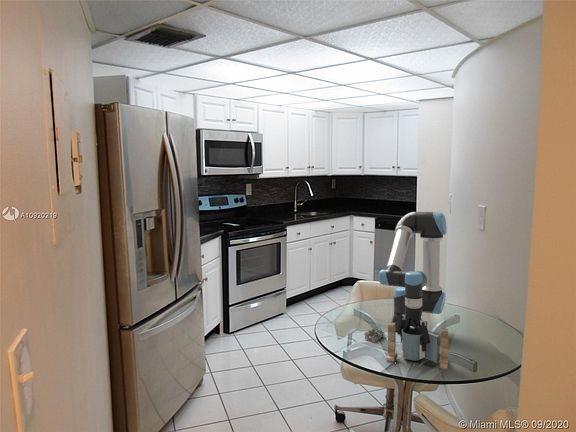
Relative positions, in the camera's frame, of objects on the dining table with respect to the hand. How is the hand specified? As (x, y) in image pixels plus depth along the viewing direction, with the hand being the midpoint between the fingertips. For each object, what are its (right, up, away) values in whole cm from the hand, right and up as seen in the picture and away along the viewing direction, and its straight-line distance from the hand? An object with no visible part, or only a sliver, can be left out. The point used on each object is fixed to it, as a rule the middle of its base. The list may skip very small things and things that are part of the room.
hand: (413, 354), depth 201 cm
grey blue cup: (0, -1, 0) cm, 1 cm away
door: (+6, -2, +3) cm, 7 cm away
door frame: (+2, -3, -1) cm, 3 cm away
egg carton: (-12, -1, +28) cm, 31 cm away
